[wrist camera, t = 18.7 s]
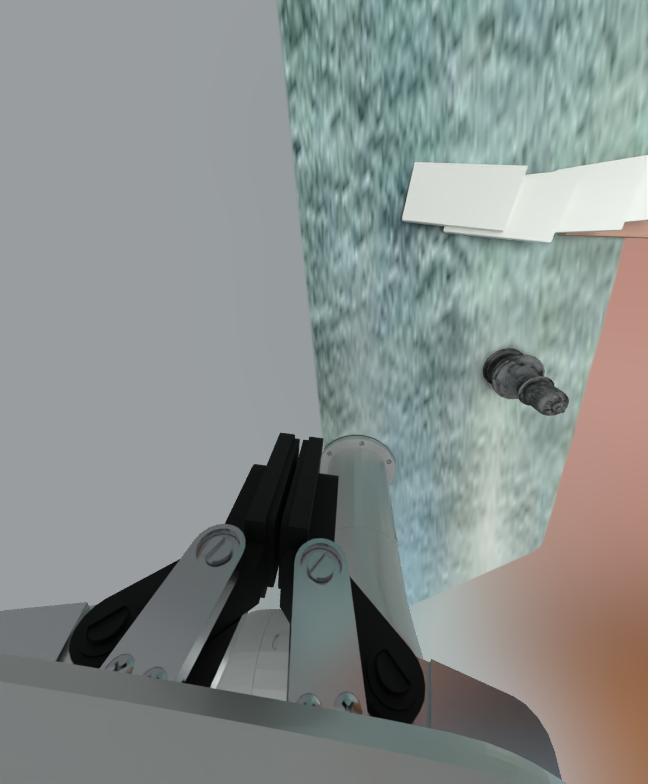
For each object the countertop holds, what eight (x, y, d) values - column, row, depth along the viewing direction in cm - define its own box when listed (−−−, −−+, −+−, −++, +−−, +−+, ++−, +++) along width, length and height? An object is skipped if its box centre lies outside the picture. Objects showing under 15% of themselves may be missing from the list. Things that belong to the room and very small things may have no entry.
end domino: (556, 235, 31) (652, 238, 31) (566, 234, 30) (667, 237, 29) (575, 180, 29) (680, 182, 28) (586, 176, 28) (697, 178, 27)
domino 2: (444, 233, 32) (547, 243, 28) (443, 231, 31) (550, 242, 27) (459, 178, 30) (573, 183, 26) (459, 174, 28) (578, 178, 25)
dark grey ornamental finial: (473, 361, 38) (521, 403, 27) (518, 337, 36) (588, 372, 25) (491, 394, 40) (542, 446, 29) (534, 373, 38) (606, 420, 27)
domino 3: (496, 235, 31) (615, 231, 27) (496, 234, 30) (621, 229, 26) (508, 180, 29) (640, 166, 25) (509, 176, 28) (648, 161, 24)
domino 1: (404, 222, 32) (502, 232, 28) (401, 219, 30) (503, 230, 27) (417, 167, 30) (525, 171, 26) (414, 162, 28) (527, 165, 25)
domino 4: (540, 230, 31) (672, 218, 26) (542, 228, 29) (682, 216, 25) (553, 174, 29) (699, 150, 24) (555, 170, 27) (710, 144, 23)
